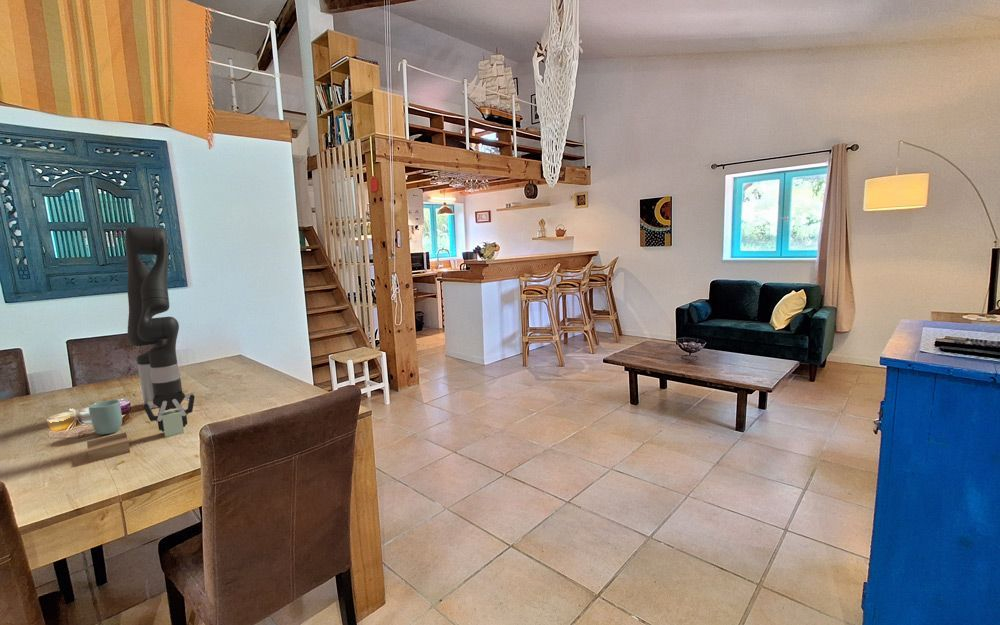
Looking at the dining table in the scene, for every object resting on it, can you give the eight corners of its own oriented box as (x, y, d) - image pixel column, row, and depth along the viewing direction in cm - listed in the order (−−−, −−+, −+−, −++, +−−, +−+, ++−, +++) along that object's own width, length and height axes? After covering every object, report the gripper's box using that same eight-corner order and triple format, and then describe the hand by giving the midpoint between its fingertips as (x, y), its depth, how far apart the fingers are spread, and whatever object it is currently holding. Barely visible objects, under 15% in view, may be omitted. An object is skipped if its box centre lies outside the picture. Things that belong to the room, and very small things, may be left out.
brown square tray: (89, 454, 136) (87, 441, 135) (127, 444, 142) (125, 432, 141) (90, 464, 129) (87, 450, 128) (130, 453, 135) (128, 440, 135)
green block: (164, 432, 149) (161, 412, 148) (183, 428, 152) (180, 408, 151) (165, 437, 145) (162, 416, 144) (184, 432, 148) (181, 412, 147)
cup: (122, 425, 157) (118, 397, 155) (125, 431, 151) (120, 403, 150) (92, 432, 151) (87, 404, 150) (94, 439, 146) (89, 409, 144)
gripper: (191, 371, 153) (198, 419, 156) (138, 380, 145) (146, 431, 147) (193, 376, 148) (200, 426, 150) (137, 386, 139) (146, 438, 141)
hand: (173, 428), depth 149 cm, fingers closed on green block, 5 cm apart
